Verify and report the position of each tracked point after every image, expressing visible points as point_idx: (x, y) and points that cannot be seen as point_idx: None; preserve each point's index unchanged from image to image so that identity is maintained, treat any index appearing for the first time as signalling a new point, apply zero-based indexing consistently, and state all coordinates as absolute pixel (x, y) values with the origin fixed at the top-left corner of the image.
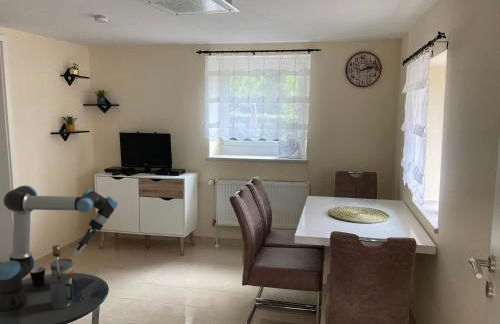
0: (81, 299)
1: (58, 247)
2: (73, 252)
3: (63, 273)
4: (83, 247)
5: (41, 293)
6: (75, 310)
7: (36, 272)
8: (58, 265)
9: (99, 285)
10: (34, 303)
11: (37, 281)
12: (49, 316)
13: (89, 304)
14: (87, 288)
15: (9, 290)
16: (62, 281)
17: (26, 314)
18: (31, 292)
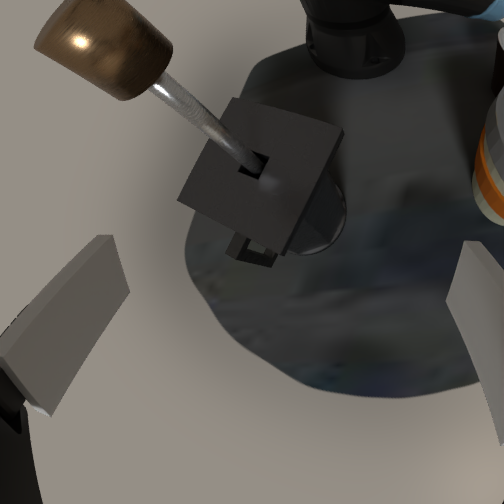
0: (328, 296)
1: (42, 53)
2: (85, 255)
3: (490, 171)
4: (485, 383)
5: (437, 110)
6: (232, 279)
7: (501, 47)
8: (198, 128)
9: (453, 371)
10: (348, 104)
11: (496, 76)
12: None
13: (264, 334)
14: (443, 314)
15: (301, 3)
16: (184, 203)
17: None
18: (449, 76)
